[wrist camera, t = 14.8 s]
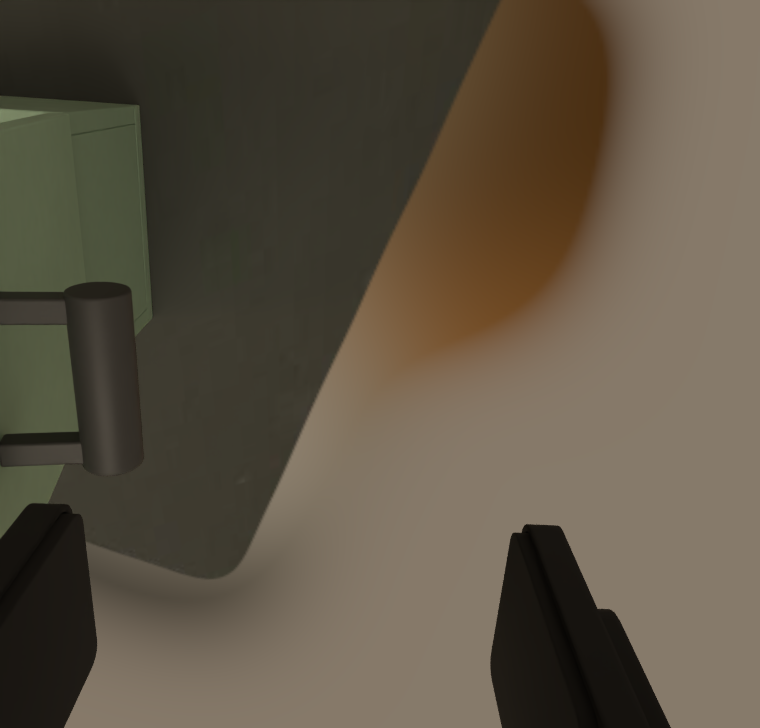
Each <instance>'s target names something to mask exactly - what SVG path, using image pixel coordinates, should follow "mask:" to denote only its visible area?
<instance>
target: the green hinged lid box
mask: <svg viewBox="0 0 760 728" xmlns="http://www.w3.org/2000/svg"><path fill="white" fill-rule="evenodd" d="M44 113H65V114H69V118H70V128H71V138H72V148H73V158H74V168H75V178H76V188H77V198H78V208H79V218H80V228H81V238H82V248H83V258H84V268H85V278H86V283H87V282H115V283H120V284H124V285H127V286H128V287H130V289H131V291H132V303H133V316H134V330H135V336H136V335H137V334H138V333H139V332H140V331H141V330H142V329H143V328H144V326H145V325H146V324H147V323H148V322H149V321H150V320H151V319H152V317H153V315H152V299H151V283H150V267H149V251H148V236H147V220H146V204H145V188H144V172H143V156H142V140H141V124H140V108H139V105H129V104H115V103H101V102H86V101H72V100H58V99H43V98H29V97H14V96H0V123H1V122H6V121H11V120H16V119H21V118H25V117H30V116H35V115H40V114H44Z"/></svg>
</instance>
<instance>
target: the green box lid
mask: <svg viewBox="0 0 760 728" xmlns="http://www.w3.org/2000/svg"><path fill="white" fill-rule="evenodd" d="M143 459H144V451H143V438H142V424H141V411H140V397H139V384H138V370H137V357H136V343H135V330H134V316H133V303H132V291H131V289H130V287H128V286H127V285H124V284H120V283H115V282H87V283H86V278H85V268H84V258H83V248H82V238H81V228H80V218H79V208H78V198H77V188H76V178H75V168H74V158H73V148H72V138H71V128H70V118H69V114H65V113H44V114H40V115H35V116H30V117H25V118H21V119H16V120H11V121H6V122H1V123H0V539H1V537H2V536H3V535H4V534H5V532H6V531H7V530H8V529H9V527H10V526H11V525H12V524H13V522H14V521H15V520H16V519H17V517H18V516H19V515H20V514H21V512H22V511H23V510H24V509H25V507H26V506H28V505H29V504H31V503H45V504H48V502H49V499H50V497H51V495H52V492H53V490H54V488H55V486H56V483H57V481H58V479H59V476H60V474H61V472H62V469H63V467H64V465H65V464H83V467H84V468H85V470H86V471H87V472H89V473H91V474H94V475H98V476H115V475H121V474H125V473H128V472H130V471H132V470H134V469H136V468H137V467H138V466H140V465H141V463H142V461H143Z"/></svg>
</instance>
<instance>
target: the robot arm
mask: <svg viewBox="0 0 760 728" xmlns="http://www.w3.org/2000/svg"><path fill="white" fill-rule="evenodd" d="M96 651H97V637H96V628H95V619H94V611H93V603H92V594H91V585H90V577H89V568H88V560H87V551H86V543H85V534H84V525H83V519H82V517H81V515H79V514H72V510H71V508H70V506H69V505H67V504H45V503H31V504H29V505H28V506H26V507H25V509H24V510H23V511H22V512H21V514H20V515H19V516H18V517H17V519H16V520H15V521H14V522H13V524H12V525H11V526H10V527H9V529H8V530H7V531H6V532H5V534H4V535H3V536H2V537H1V539H0V728H64V726H65V724H66V722H67V720H68V718H69V716H70V713H71V711H72V709H73V707H74V705H75V703H76V700H77V698H78V696H79V694H80V692H81V690H82V687H83V685H84V683H85V681H86V679H87V677H88V675H89V673H90V670H91V668H92V666H93V663H94V660H95V657H96ZM491 676H492V683H493V687H494V692H495V697H496V701H497V706H498V711H499V715H500V720H501V724H502V728H671V727H670V725H669V723H668V721H667V719H666V717H665V715H664V713H663V710H662V708H661V706H660V704H659V702H658V700H657V698H656V696H655V694H654V692H653V690H652V687H651V685H650V683H649V681H648V679H647V677H646V675H645V673H644V671H643V668H642V666H641V664H640V662H639V660H638V658H637V656H636V654H635V652H634V650H633V647H632V645H631V643H630V641H629V639H628V637H627V635H626V633H625V631H624V629H623V627H622V624H621V622H620V620H619V619H618V617H617V616H616V614H615V613H614V612H613V611H612V610H610V609H597V607H596V605H595V603H594V600H593V598H592V596H591V594H590V591H589V589H588V587H587V584H586V582H585V580H584V578H583V575H582V573H581V571H580V569H579V566H578V564H577V562H576V560H575V557H574V555H573V553H572V551H571V548H570V546H569V544H568V542H567V539H566V537H565V535H564V533H563V531H562V529H561V527H559V526H554V525H529V524H526V525H525V526H524V527H523V529H522V533H513V534H512V536H511V539H510V545H509V551H508V557H507V563H506V568H505V574H504V580H503V586H502V593H501V598H500V604H499V610H498V617H497V622H496V628H495V634H494V640H493V646H492V652H491Z"/></svg>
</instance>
